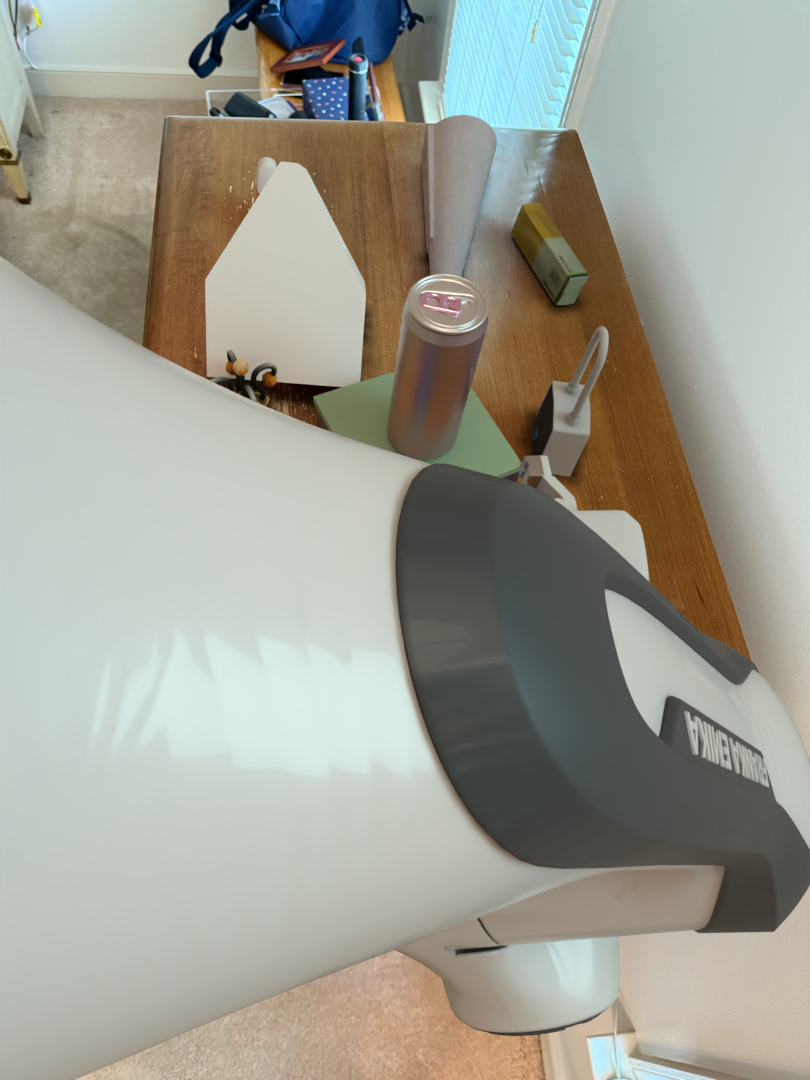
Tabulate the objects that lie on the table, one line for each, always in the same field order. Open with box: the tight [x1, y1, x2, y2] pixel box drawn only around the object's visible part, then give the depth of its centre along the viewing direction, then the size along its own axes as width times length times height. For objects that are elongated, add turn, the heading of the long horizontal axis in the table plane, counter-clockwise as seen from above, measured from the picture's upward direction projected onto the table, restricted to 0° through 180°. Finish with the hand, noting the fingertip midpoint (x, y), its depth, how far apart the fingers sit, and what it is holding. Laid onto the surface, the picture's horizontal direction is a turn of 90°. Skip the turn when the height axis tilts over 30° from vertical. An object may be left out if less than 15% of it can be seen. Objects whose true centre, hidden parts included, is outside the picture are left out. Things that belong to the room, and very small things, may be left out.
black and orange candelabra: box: [209, 350, 278, 407], centre depth 65 cm, size 5×5×8 cm
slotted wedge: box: [204, 160, 367, 388], centre depth 69 cm, size 14×11×18 cm
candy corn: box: [255, 156, 278, 199], centre depth 78 cm, size 6×3×8 cm, turn 3°
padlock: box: [530, 325, 610, 477], centre depth 65 cm, size 7×4×15 cm, turn 175°
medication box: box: [510, 202, 590, 307], centre depth 81 cm, size 12×3×4 cm, turn 22°
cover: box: [312, 370, 522, 478], centre depth 64 cm, size 14×14×1 cm
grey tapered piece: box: [421, 114, 498, 277], centre depth 81 cm, size 8×9×26 cm
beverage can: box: [387, 274, 489, 460], centre depth 57 cm, size 6×6×15 cm
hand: (460, 460), depth 47 cm, fingers open, 8 cm apart
